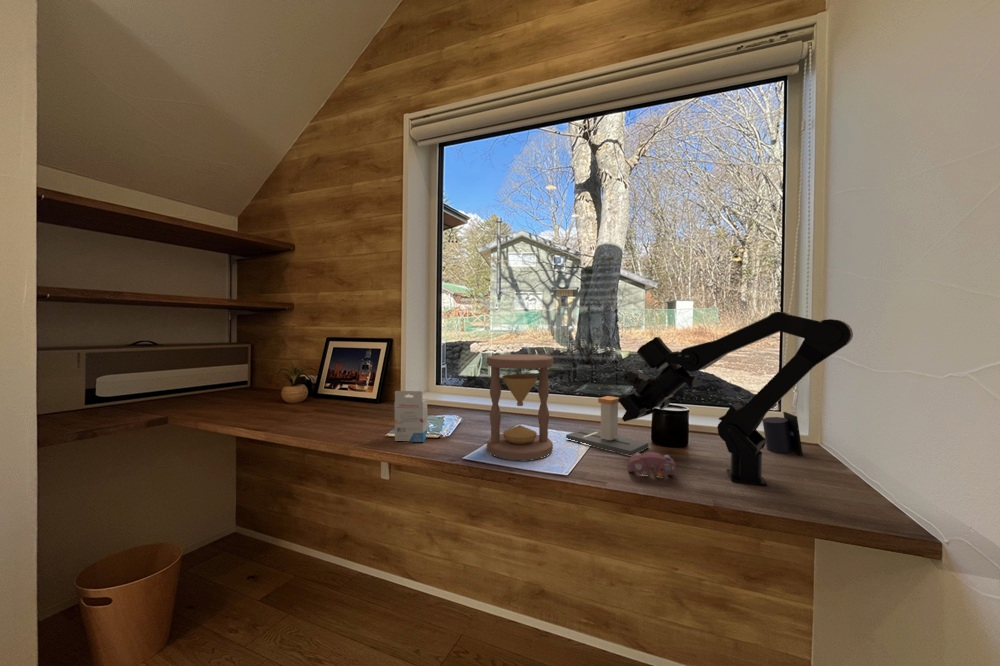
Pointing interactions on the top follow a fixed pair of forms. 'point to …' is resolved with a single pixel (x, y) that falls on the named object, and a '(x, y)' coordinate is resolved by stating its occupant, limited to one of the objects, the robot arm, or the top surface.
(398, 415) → the ink box
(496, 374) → the hourglass
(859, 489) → the top surface
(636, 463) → the video game controller
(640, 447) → the grey grooved tray
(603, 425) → the fader knob
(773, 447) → the speaker
